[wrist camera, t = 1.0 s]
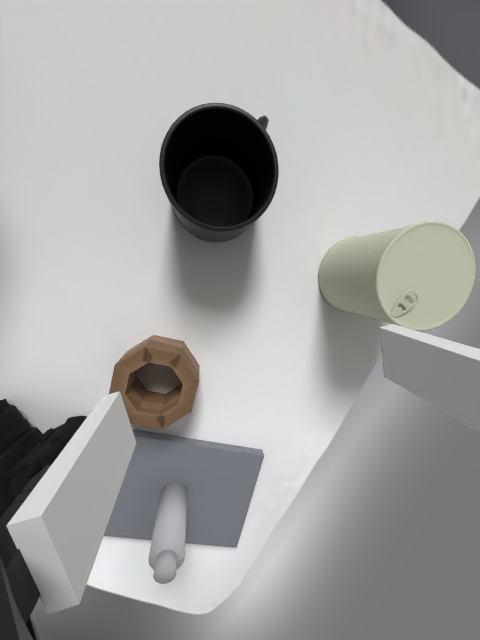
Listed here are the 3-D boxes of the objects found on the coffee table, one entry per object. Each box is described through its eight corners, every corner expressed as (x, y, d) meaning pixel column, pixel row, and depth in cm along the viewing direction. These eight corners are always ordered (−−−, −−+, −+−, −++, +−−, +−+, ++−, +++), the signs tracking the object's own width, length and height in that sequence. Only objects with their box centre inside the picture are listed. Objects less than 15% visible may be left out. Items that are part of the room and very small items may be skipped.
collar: (118, 397, 33) (103, 419, 28) (132, 330, 32) (119, 341, 27) (188, 409, 34) (185, 432, 30) (203, 345, 33) (204, 359, 28)
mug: (288, 174, 31) (322, 137, 22) (222, 259, 32) (230, 256, 23) (221, 111, 29) (230, 42, 20) (153, 203, 30) (133, 175, 21)
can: (302, 279, 34) (357, 284, 22) (353, 219, 33) (437, 192, 21) (353, 326, 36) (427, 354, 24) (402, 271, 35) (502, 272, 23)
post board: (84, 524, 35) (35, 631, 25) (105, 425, 33) (61, 496, 23) (235, 539, 39) (248, 638, 28) (262, 449, 37) (285, 521, 26)
